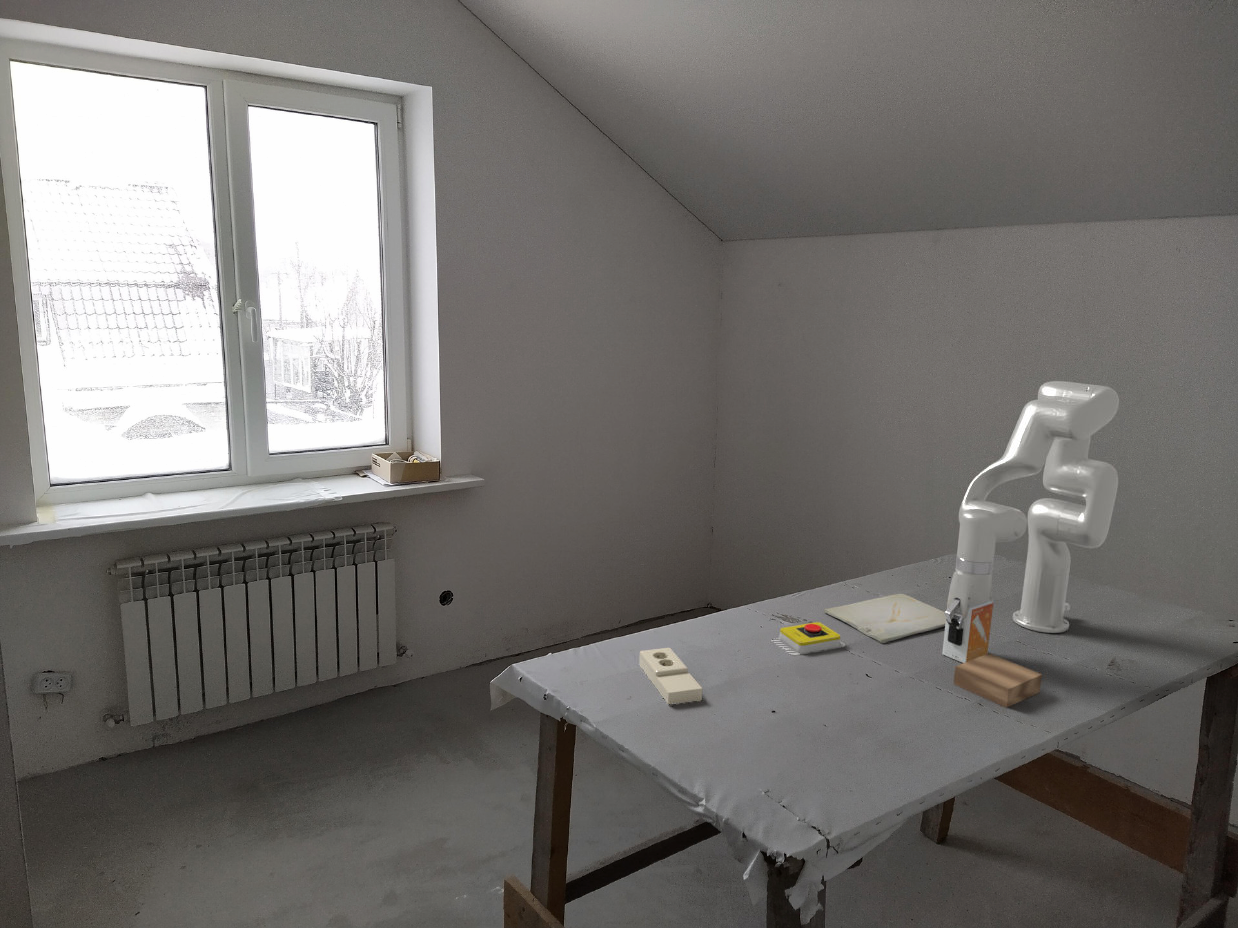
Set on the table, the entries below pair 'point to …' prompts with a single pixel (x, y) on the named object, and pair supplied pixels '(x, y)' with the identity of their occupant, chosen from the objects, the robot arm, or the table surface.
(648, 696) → the table surface
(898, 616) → the decorative slab
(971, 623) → the small box
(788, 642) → the emergency button
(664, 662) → the electrical outlet
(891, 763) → the table surface
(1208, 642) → the table surface
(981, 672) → the walnut base
